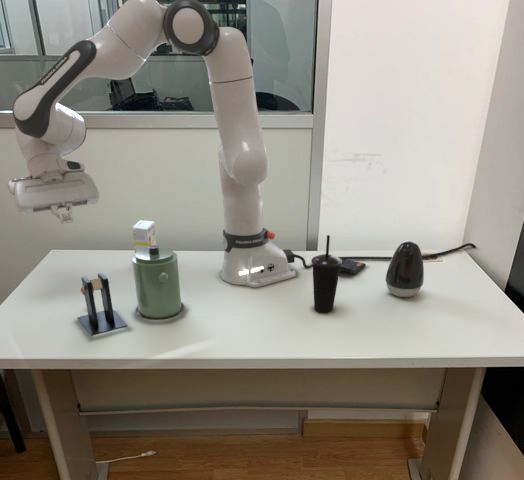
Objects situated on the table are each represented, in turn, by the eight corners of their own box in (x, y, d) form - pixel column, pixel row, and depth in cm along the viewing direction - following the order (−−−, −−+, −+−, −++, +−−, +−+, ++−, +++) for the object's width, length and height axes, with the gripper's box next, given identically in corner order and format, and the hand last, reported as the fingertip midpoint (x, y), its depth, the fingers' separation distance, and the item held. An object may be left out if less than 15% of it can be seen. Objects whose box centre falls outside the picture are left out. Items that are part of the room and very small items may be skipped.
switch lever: (82, 298, 136) (78, 286, 135) (94, 295, 137) (90, 283, 137) (92, 292, 124) (88, 278, 124) (105, 288, 126) (101, 275, 126)
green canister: (130, 303, 142) (121, 239, 133) (175, 296, 147) (169, 233, 137) (144, 332, 129) (135, 263, 119) (193, 323, 133) (189, 256, 124)
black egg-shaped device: (379, 297, 146) (386, 244, 138) (388, 283, 154) (395, 232, 146) (416, 304, 142) (425, 250, 134) (424, 289, 150) (433, 238, 143)
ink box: (151, 265, 166) (146, 228, 160) (135, 265, 166) (131, 228, 160) (158, 255, 173) (154, 220, 167) (143, 255, 174) (139, 219, 168)
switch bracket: (78, 321, 134) (68, 274, 127) (112, 312, 138) (105, 266, 131) (91, 339, 126) (82, 290, 119) (128, 329, 130) (121, 281, 123)
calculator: (365, 266, 165) (366, 257, 164) (349, 278, 157) (350, 269, 155) (338, 260, 169) (338, 251, 168) (321, 272, 161) (322, 262, 159)
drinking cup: (340, 305, 142) (346, 232, 132) (334, 317, 136) (340, 242, 125) (313, 301, 144) (317, 229, 134) (305, 313, 138) (309, 238, 127)
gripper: (4, 171, 127) (23, 222, 125) (89, 162, 137) (107, 209, 135) (5, 186, 132) (23, 235, 130) (87, 176, 142) (104, 221, 140)
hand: (67, 221), depth 133 cm, fingers closed
